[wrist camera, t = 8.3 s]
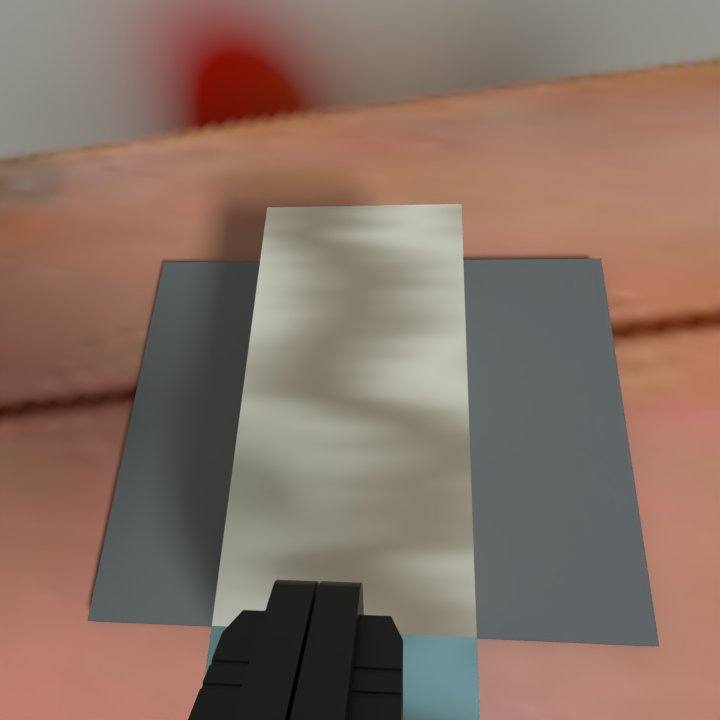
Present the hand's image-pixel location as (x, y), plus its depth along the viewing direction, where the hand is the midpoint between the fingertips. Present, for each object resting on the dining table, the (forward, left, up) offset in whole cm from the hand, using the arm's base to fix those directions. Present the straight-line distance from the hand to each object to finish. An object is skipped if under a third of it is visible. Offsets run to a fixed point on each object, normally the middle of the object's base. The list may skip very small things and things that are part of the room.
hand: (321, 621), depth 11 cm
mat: (0, -7, -10) cm, 12 cm away
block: (0, +2, -6) cm, 7 cm away
